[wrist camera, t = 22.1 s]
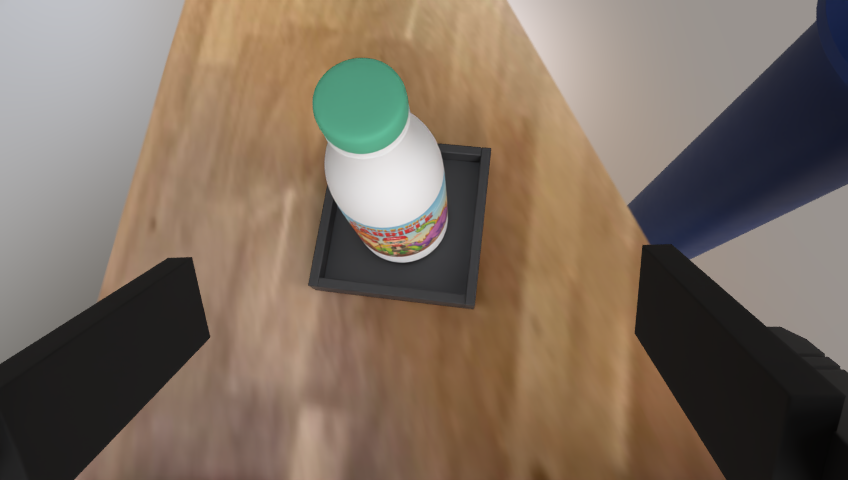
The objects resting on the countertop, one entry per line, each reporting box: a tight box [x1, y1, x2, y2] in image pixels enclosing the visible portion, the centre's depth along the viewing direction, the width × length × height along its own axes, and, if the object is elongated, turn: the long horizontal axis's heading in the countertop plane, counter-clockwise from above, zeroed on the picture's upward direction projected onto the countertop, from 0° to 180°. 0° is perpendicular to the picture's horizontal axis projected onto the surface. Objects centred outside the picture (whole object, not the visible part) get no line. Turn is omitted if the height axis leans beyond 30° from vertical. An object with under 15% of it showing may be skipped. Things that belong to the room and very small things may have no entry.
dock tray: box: [308, 143, 491, 309], centre depth 42 cm, size 14×14×2 cm
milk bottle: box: [313, 58, 448, 263], centre depth 33 cm, size 8×8×20 cm
